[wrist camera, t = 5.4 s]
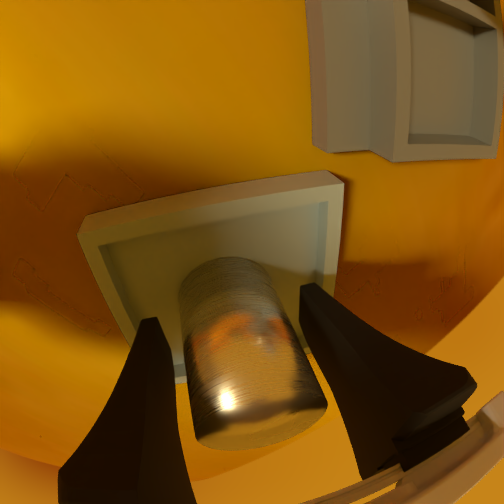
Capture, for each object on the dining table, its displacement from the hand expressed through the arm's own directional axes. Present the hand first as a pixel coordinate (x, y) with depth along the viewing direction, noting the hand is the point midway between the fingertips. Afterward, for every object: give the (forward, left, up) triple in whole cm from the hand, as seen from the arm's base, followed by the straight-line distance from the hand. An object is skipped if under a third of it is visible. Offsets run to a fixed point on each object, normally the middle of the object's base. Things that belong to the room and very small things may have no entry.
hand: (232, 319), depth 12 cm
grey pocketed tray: (+9, +12, -2) cm, 15 cm away
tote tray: (0, 0, -2) cm, 2 cm away
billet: (0, 0, -1) cm, 1 cm away
